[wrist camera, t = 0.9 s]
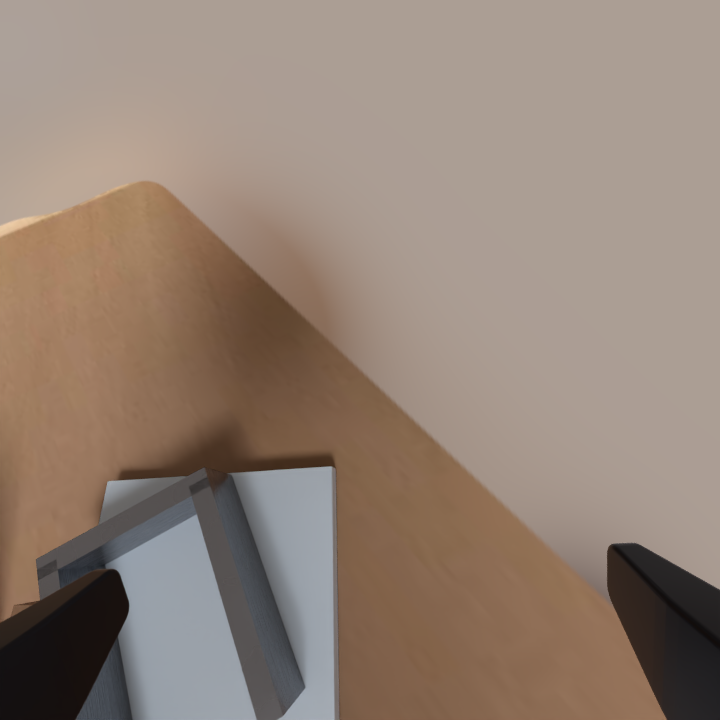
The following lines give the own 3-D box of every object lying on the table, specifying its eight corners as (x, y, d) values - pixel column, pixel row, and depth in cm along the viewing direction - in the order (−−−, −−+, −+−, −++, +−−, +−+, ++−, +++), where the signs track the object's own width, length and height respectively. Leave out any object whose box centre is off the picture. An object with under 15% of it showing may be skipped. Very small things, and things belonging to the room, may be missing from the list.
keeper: (305, 687, 18) (283, 716, 15) (123, 795, 17) (65, 845, 14) (231, 475, 22) (204, 467, 19) (85, 555, 22) (35, 559, 19)
